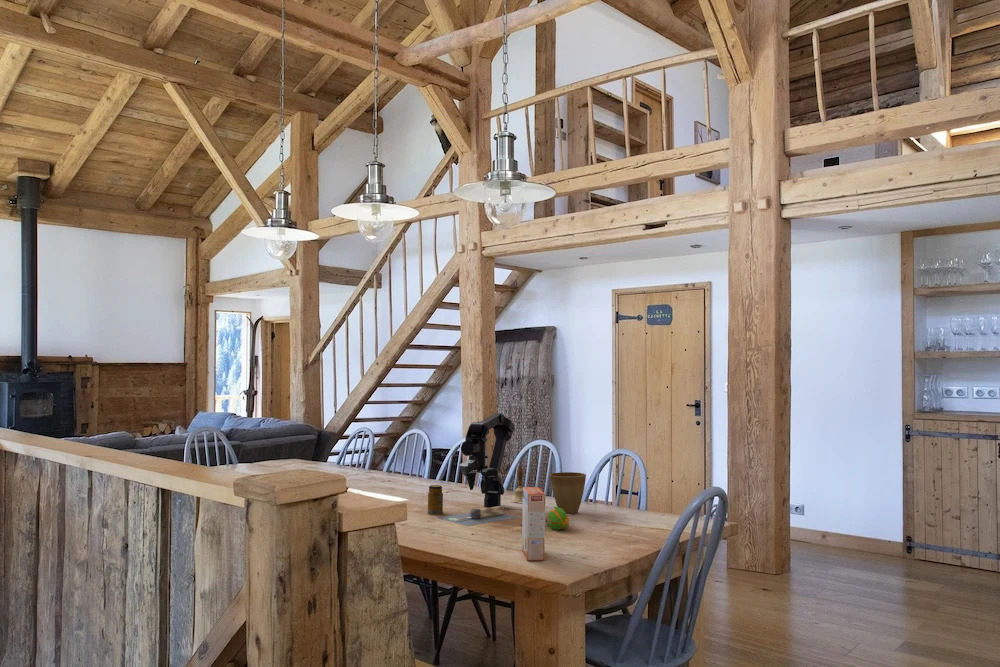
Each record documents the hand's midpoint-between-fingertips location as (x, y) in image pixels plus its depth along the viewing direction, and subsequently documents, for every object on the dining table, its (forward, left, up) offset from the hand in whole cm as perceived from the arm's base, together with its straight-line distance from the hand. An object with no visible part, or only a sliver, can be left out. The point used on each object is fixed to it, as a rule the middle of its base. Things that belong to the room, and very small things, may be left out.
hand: (478, 491), depth 310 cm
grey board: (+8, +9, -9) cm, 15 cm away
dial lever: (+8, +10, -8) cm, 15 cm away
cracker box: (+29, +64, -9) cm, 71 cm away
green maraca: (-8, +38, -10) cm, 39 cm away
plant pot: (-30, +21, -9) cm, 38 cm away
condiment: (+16, -8, -9) cm, 20 cm away
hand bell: (-32, -11, -9) cm, 35 cm away
